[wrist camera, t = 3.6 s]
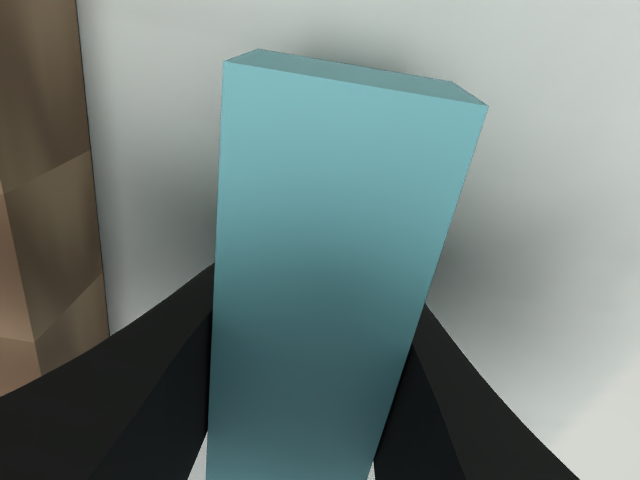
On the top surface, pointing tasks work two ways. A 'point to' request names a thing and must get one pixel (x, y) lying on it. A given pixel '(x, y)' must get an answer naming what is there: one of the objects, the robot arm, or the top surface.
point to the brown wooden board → (45, 196)
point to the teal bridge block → (324, 255)
